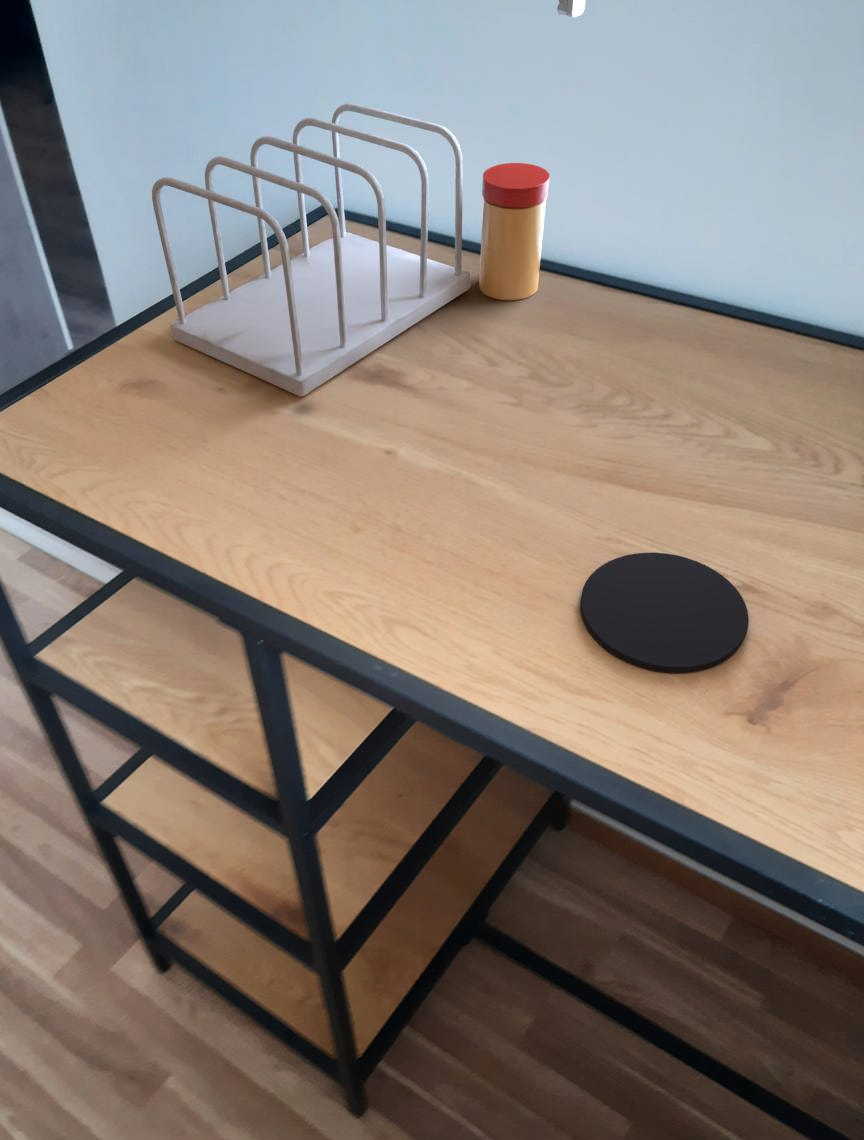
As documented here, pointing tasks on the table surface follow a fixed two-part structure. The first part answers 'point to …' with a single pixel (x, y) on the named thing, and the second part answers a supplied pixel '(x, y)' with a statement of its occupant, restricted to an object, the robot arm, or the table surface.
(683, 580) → the black coaster
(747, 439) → the table surface
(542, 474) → the table surface
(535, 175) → the lid
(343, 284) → the file sorter
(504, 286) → the jar
